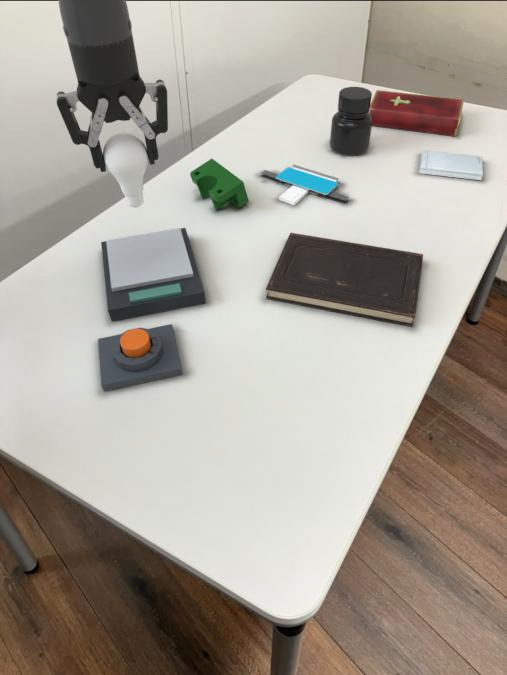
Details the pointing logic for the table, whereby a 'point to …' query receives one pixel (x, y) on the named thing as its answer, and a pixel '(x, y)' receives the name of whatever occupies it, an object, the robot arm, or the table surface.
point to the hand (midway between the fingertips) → (127, 165)
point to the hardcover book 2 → (416, 112)
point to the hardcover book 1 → (347, 278)
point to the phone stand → (305, 184)
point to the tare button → (135, 343)
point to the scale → (150, 274)
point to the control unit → (139, 360)
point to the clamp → (219, 184)
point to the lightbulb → (127, 165)
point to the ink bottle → (352, 122)
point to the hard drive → (451, 165)
